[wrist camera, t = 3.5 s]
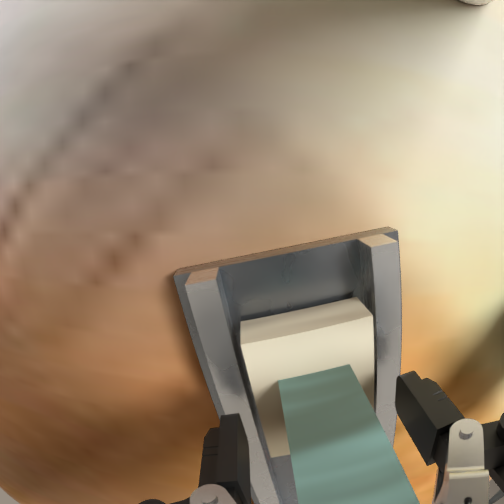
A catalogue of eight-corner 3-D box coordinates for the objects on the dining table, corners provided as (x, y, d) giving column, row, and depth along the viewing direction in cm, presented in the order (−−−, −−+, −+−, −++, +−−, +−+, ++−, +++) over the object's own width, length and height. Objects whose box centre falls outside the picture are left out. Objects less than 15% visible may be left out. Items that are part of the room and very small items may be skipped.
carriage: (240, 321, 14) (241, 542, 4) (356, 296, 14) (491, 464, 4) (268, 431, 15) (285, 598, 6) (361, 410, 15) (427, 560, 6)
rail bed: (177, 268, 14) (165, 288, 12) (388, 226, 14) (414, 237, 12) (272, 535, 21) (274, 556, 18) (376, 512, 21) (383, 531, 18)
